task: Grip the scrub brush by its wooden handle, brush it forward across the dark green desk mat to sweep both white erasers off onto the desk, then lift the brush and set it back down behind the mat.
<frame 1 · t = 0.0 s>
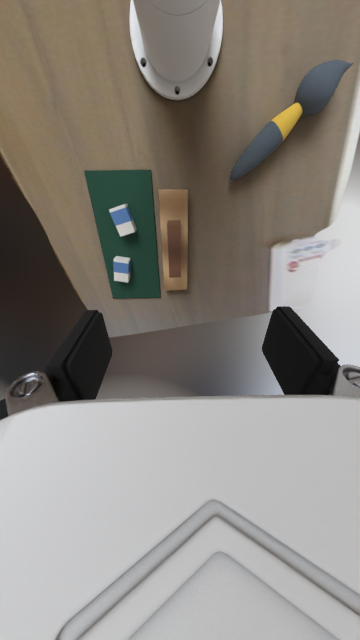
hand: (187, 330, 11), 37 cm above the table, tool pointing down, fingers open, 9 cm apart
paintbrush: (277, 131, 34), on the table
scrub brush: (174, 243, 44), on the table
desk mat: (129, 244, 44), on the table
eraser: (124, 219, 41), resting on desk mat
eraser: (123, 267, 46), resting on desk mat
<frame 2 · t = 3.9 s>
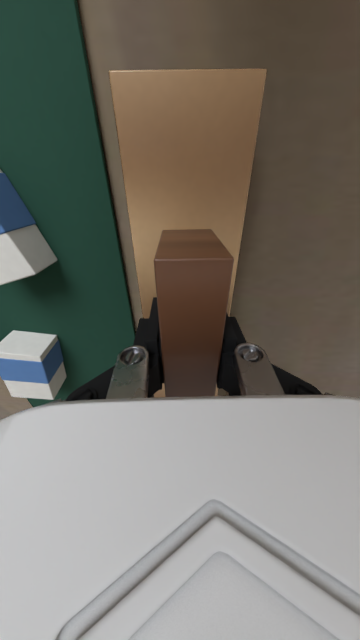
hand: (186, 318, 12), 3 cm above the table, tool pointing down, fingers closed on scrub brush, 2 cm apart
scrub brush: (184, 297, 14), on the table, touching gripper
desk mat: (45, 300, 14), on the table
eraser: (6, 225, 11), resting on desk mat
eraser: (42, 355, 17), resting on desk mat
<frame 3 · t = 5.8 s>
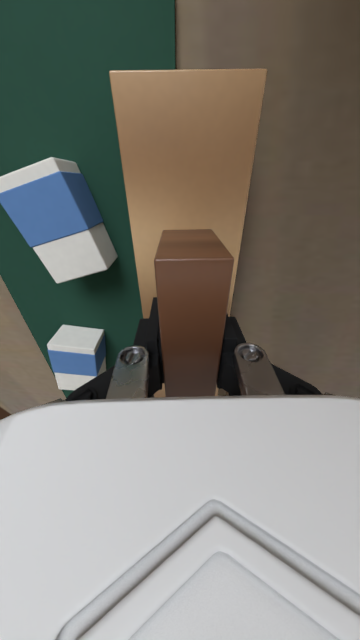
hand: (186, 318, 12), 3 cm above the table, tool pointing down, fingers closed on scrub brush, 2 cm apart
scrub brush: (185, 297, 14), point 1 cm above the table, touching gripper
desk mat: (97, 295, 15), on the table
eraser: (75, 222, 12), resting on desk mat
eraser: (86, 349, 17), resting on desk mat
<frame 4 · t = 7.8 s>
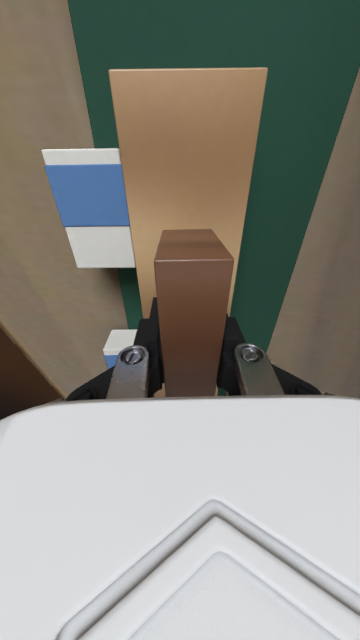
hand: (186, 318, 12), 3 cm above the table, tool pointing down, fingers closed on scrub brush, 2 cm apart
scrub brush: (185, 297, 14), point 1 cm above the table, touching gripper
desk mat: (203, 293, 15), on the table
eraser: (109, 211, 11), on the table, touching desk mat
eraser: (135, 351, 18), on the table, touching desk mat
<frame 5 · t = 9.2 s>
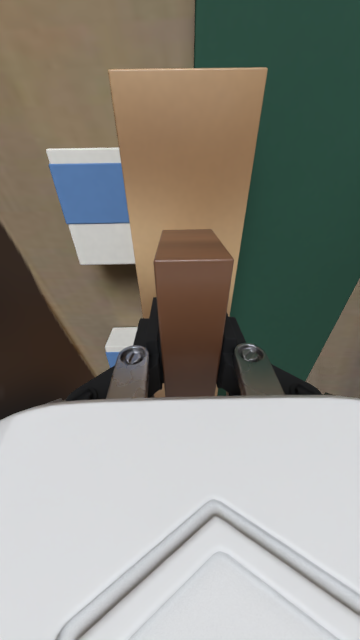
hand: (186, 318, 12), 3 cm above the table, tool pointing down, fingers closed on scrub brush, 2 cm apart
scrub brush: (184, 297, 14), point 1 cm above the table, touching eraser, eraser, gripper
desk mat: (269, 292, 15), on the table
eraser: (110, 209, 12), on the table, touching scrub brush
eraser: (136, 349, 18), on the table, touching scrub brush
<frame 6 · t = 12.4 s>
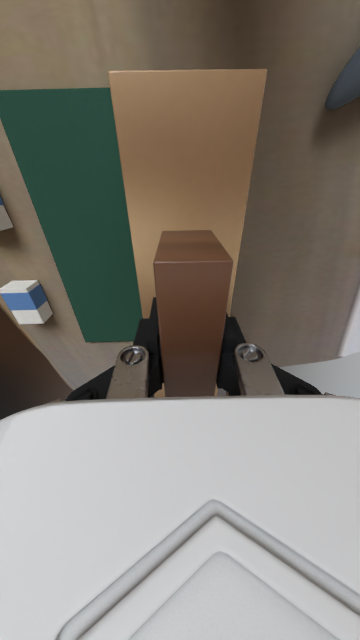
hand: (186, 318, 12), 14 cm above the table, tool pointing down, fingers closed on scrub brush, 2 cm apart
scrub brush: (184, 297, 14), point 11 cm above the table, touching gripper
desk mat: (105, 254, 23), on the table
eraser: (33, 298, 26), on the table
when the fingers open (3 cm above the table, at t = 14.9 s): scrub brush stays where it is, on the table.
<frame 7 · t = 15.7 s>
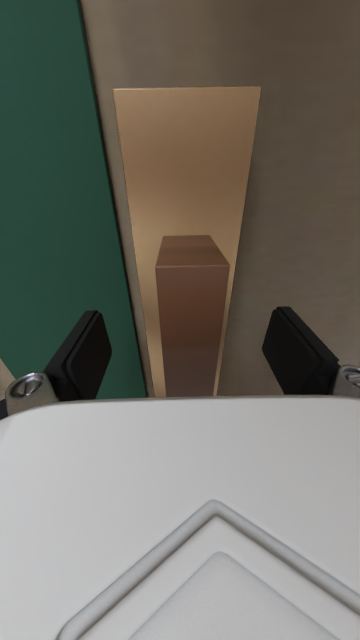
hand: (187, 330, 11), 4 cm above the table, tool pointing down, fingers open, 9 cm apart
scrub brush: (184, 299, 15), on the table
desk mat: (48, 299, 15), on the table
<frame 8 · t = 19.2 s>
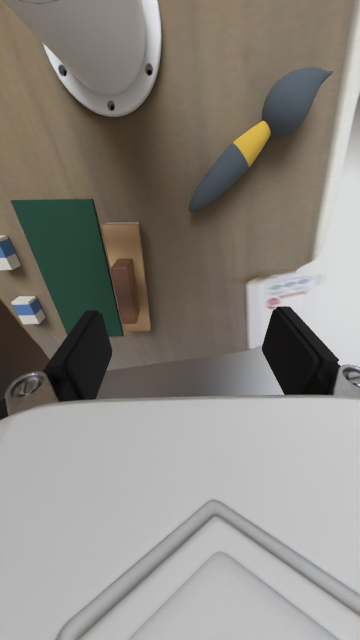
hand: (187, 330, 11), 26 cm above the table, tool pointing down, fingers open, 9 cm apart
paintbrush: (244, 154, 27), on the table
scrub brush: (132, 280, 37), on the table
desk mat: (78, 280, 37), on the table
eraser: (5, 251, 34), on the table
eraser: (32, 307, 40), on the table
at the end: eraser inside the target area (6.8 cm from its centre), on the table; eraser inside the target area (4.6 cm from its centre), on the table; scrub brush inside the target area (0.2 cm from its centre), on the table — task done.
